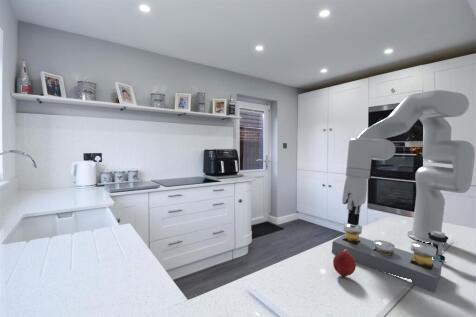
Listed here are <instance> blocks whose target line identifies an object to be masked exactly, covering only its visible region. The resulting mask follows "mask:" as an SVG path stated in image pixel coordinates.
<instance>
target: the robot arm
mask: <svg viewBox="0 0 476 317" xmlns="http://www.w3.org/2000/svg"><path fill="white" fill-rule="evenodd" d="M469 106H470V102H469V98H468V97H467V95H465V94H464V93H461V92H456V91H455V92H454V91H449V90H442V89H439V90H438V89H435V90H428V91H423V92H418V93H417V92H416V93H413V94H409V95H408V96H406V97H404V99H403V100H402V101H401V102H400V103H399V104H398V105H397V106H396V107H395V109H394V110H393V111H392V112H390V114H389V115H388V116H387V117H385V118H384V119H382V120H380V121H378V122H376V123H374V124H372V125H371V126H369V127H367V128H365V129H364V130H363V131H362V132H361V133H360V134H359V135H358V136H357V137H354V138H350V139H349V140H348V146H347V156H346V159H347V160H346V169H345V181H344V185H343V186H344V187H343V193H342V202H341V203H342V204H343V205H347V207H346V210H347V211H348V212H347V214H348V215H347V223H349V224H352V225H360V223H359V221H360V213H361V208H362V205H364V204H365V203H366V199H367V194H368V193H367V190H368V189H367V188H368V180H370V178H371V177H370V176H371V168H372V160H374V161H387V160H389V159H392V158H393V157H394V155H395V154H396V146H395V144H394V142H392V141H391V140H388V138H392V137H396V136H399V135H402V134H404V133H407V132H409V131H410V130H411V128H412V127H413V126H414V124H416V122H418V120H419V121H420V122H421V124H422V125H423V128H424V136H423V145H422V159H424V161H426V162H429V163H432V164H433V163H434V164H443V165H451V166H452V167H446V166H436V165H424V166H421V167H419V168H418V169H417V170H416V172H415V175H414V177H415V186H416V187H415V188H416V191H415V192H416V195H415V201H414V202H415V205H414V213H413V222H412V230H410V231H407V236H408V237H409V238H410V239H412V238H413V239H412V240H414V239H415V241H417V240H419V241H418V242H420V241H423V242H429V243H432V240H431V239H429V235H428V233H429V232H432V231H439V232H443V231H442V229H443V221H444V213H445V205H446V200H445V197H444V194H442V192H441V191H445V192H449V193H454V194H465V193H467V192H469V190H470V188H471V186H472V181H473V175H474V167H475V166H474V165H475V158H476V151H475V147H474V144H473V143H471V142H470V141H467V140H461V139H460V140H456V139H454V140H452V131H453V130H452V125H451V124H450V122H449V121H448V120H447V119H446V118H455V117H460V116H463V115H464V114H465V113H466V112H467V111H468V109H469ZM423 242H422V243H423Z"/></svg>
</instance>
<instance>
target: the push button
mask: <svg viewBox="0 0 476 317" xmlns="http://www.w3.org/2000/svg"><path fill="white" fill-rule="evenodd" d="M428 235H429V239H431V240H432V244H430V245H432V246H434V247H435V248H436V249H437V251H436V257H433V259H434V260H436V261H439V262H442V266H446V264H447V263H448V262H446V261H445V260H446V257H445V256H444V255H443V247H444V245H443V243H445V244H446V243H447V241H448V240H449V237H448V236H447V235H446V233H445V232H443V231H441V232H439V231H432V232H429V233H428Z"/></svg>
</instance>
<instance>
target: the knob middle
mask: <svg viewBox="0 0 476 317" xmlns="http://www.w3.org/2000/svg"><path fill="white" fill-rule="evenodd" d="M373 241H374V244H373V248H374V249H375V251H376V252H379V253H382V254H385V255H387V256H391V254H393V253H394V248H396V247H395V244H393V243H392V242H389V241H386V240H381V239H375V240H373Z"/></svg>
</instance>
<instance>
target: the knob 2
mask: <svg viewBox="0 0 476 317" xmlns="http://www.w3.org/2000/svg"><path fill="white" fill-rule="evenodd" d="M410 244H411V245H410V251H411V252H412V253H413V261H412V264H414V265H417V266H420V267H423V268H426V269H431V265H432V257H436V251H437V249H436V248H435V247H434V246H432V245H431V244H427V243H423V242H420V241H412V242H411V243H410Z"/></svg>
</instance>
